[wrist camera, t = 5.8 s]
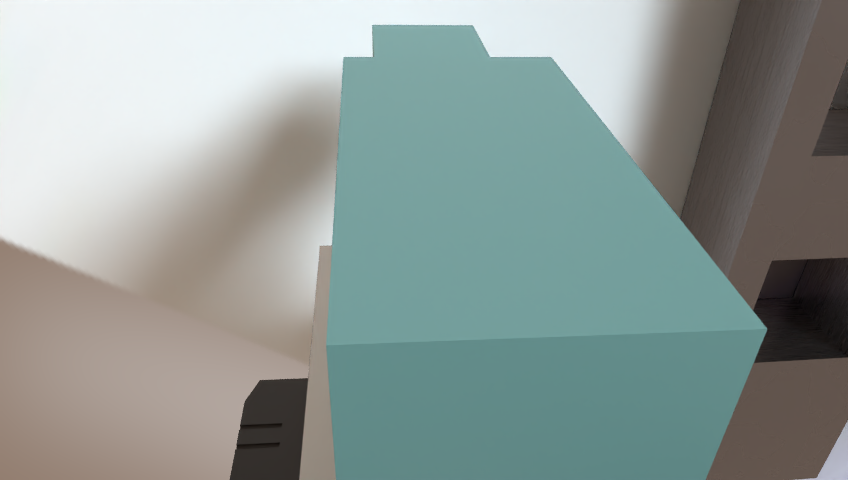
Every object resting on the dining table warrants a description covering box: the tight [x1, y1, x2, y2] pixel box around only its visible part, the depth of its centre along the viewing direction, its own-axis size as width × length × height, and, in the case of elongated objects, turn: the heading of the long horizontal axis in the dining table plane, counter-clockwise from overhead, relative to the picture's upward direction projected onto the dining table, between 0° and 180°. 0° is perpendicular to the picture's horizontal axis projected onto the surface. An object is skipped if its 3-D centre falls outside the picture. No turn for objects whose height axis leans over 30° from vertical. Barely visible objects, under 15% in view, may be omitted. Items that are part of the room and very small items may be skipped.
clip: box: [326, 25, 767, 480], centre depth 13 cm, size 12×4×12 cm, turn 178°
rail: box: [680, 0, 848, 480], centre depth 21 cm, size 26×7×4 cm, turn 178°
